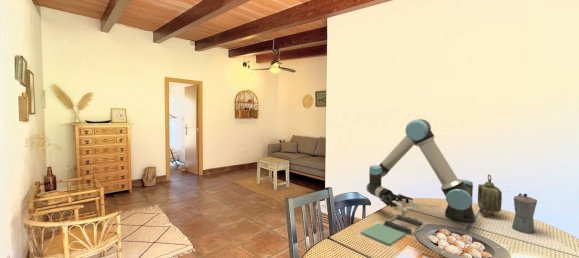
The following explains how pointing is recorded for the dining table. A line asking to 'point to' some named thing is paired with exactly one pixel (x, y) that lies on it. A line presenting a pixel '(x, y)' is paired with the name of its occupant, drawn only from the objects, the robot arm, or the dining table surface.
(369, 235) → the teal board
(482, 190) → the olive green lantern
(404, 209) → the pipe connector
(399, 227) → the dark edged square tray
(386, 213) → the dining table surface
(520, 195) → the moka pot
